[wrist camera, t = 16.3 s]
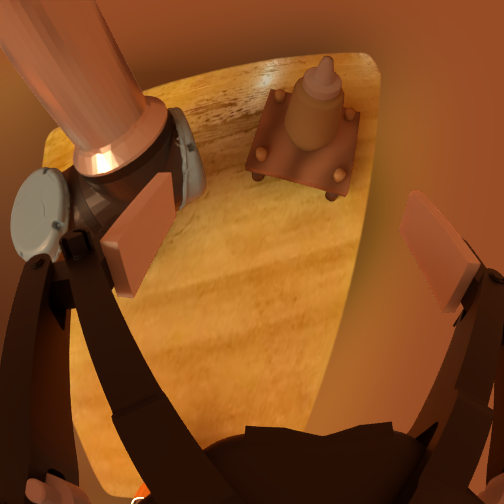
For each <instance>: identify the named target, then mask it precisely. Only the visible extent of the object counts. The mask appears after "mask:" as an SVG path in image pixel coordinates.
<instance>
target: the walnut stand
mask: <svg viewBox="0 0 504 504" xmlns="http://www.w3.org/2000/svg"><path fill="white" fill-rule="evenodd" d="M291 96H292V93H287V92H285V91H284V90H282V89H278V90H273V89H271V90H270V93H269V96H268V99H267V102H266V105H265V108H264V111H263V114H262V117H261V120H260V122H259V125H258V128H257V131H256V134H255V138H254V141H253V144H252V147H251V150H250V153H249V156H248V159H247V162H246V165H245V169H246V170H247V171H252V178H253V180H255V181H261V180H263V178H264V175H268V176H272V177H276V178H280V179H284V180H287V181H291V182H295V183H299V184H302V185H306V186H310V187H313V188H317V189H320V190H324V191H327V192H326V194H325V196H326V199H327V200H329V201H334V200H335V199H336V198H337V197H338V195H341V196H344V197H345V196H346V195H347V194H348V189H349V183H350V178H351V172H352V166H353V160H354V154H355V147H356V141H357V134H358V126H359V119H360V112H356V111H355V110H354V109H353V108H344V107H343V108H342V112H341V117H340V121H339V126H338V130H337V134H336V136H335V137H334V139H333V141H331V142H330V143H328V144H327V145H325V146H323V147H322V148H320V149H318V150H316V151H304V150H301V149H299V148H298V147H296V146H295V145H294V144H293V143H292V141H291V139H290V137H289V136H288V134H287V131H286V128H285V126H284V121H285V115H286V112H287V109H288V106H289V102H290V99H291Z"/></svg>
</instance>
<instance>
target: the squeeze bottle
mask: <svg viewBox="0 0 504 504" xmlns="http://www.w3.org/2000/svg"><path fill="white" fill-rule="evenodd" d="M341 86H342V84H341V79H340V77H339V75H337V74H336V73H335V72H334V64H333V58H332V57H330V56H324V57H323V59H322V60H321V62H320V64H319V65H318V67H312V68H310V69H308V70H307V71H306V72H305V74H304V77H302V78H300V79H299V80H298V81H297V83H296V84H295V86H294V90H293V93H292V96H291V99H290V102H289V106H288V109H287V112H286V115H285V121H284V126H285V128H286V131H287V134H288V136H289V137H290V139H291V141H292V143H293V144H294V145H295V146H296V147H298V148H299V149H301V150H304V151H316V150H318V149H320V148H322V147H323V146H325V145H327V144H328V143H330V142H331V141H333V139H334V137H335V136H336V134H337V130H338V126H339V121H340V117H341V112H342V108H343V103H344V92H343V90H342V88H341Z"/></svg>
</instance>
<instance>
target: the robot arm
mask: <svg viewBox="0 0 504 504" xmlns="http://www.w3.org/2000/svg"><path fill="white" fill-rule="evenodd" d="M0 47H1V49H2V50H3V51H4V53H5V54H6V56H7V57H8V59H9V60H10V62H11V63H12V64H13V66H14V67H15V69H16V70H17V71H18V73H19V74H20V76H21V77H22V78H23V80H24V81H25V82H26V84H27V85H28V87H29V88H30V89H31V91H32V92H33V93H34V95H35V96H36V97H37V98H38V100H39V101H40V102H41V104H42V105H43V106H44V108H45V109H46V110H47V111H48V113H49V114H50V115H51V117H52V118H53V119H54V120H55V121H56V123H57V124H58V125H59V127H60V128H61V129H62V130H63V132H64V133H65V134H66V135H67V136H68V138H69V139H70V140H71V141H72V143H73V144H74V145H75V149H74V154H73V164H74V165H72V166H71V167H69V168H68V169H66V170H65V171H63V172H61V171H60V170H58V169H57V168H48V167H44V168H41V169H38V170H36V171H34V172H33V173H32V174H31V175H30V176H29V177H28V178H27V179H26V180H25V182H24V183H23V184H22V186H21V188H20V189H19V191H18V194H17V196H16V198H15V202H14V206H13V209H12V214H11V236H12V240H13V244H14V247H15V249H16V251H17V252H18V254H19V255H20V256H21V257H22V258H23V259H24V260H25V261H27V262H26V264H25V265H24V268H23V271H22V274H21V278H20V281H19V284H18V287H17V291H16V294H15V298H14V302H13V305H12V309H11V313H10V317H9V322H8V326H7V331H6V336H5V341H4V346H3V353H2V358H1V364H0V504H91V503H90V501H89V498H88V496H87V495H86V493H85V492H84V491H83V490H82V489H81V488H79V471H78V462H77V455H76V448H75V441H74V432H73V423H72V412H71V398H70V374H69V343H70V319H71V309H73V308H76V310H77V313H78V317H79V321H80V324H81V327H82V331H83V334H84V337H85V341H86V344H87V347H88V350H89V353H90V356H91V359H92V361H93V364H94V367H95V370H96V373H97V375H98V378H99V380H100V383H101V386H102V388H103V391H104V393H105V395H106V398H107V400H108V403H109V405H110V407H111V410H112V413H113V415H112V416H111V417H112V421H113V423H114V426H115V428H116V430H117V432H118V435H119V437H120V439H121V441H122V443H123V445H124V447H125V449H126V451H127V452H128V454H129V456H130V458H131V460H132V462H133V464H134V465H135V467H136V469H137V471H138V473H139V474H140V476H141V478H142V479H143V481H144V483H145V485H146V486H147V488H148V489H149V491H150V494H149V495H148V496H146V497H145V498H144V499H142V500H141V501H140V502H138V503H137V504H504V277H503V276H502V275H501V274H500V273H499V272H497V271H496V270H494V269H490V268H486V267H485V266H484V264H483V263H482V261H481V260H480V259H479V257H478V256H477V255H476V254H475V252H474V251H473V249H471V247H470V246H469V244H468V243H467V242H466V241H465V240H464V239H463V238H461V236H460V235H459V234H458V233H457V231H456V230H455V229H454V228H453V227H452V225H451V224H450V223H449V222H448V221H447V219H446V218H445V217H444V216H443V215H442V214H441V212H440V211H439V210H438V209H437V208H436V207H435V206H434V204H433V203H432V202H431V201H430V200H429V199H428V198H427V197H426V196H425V195H424V194H423V192H422V191H415V190H410V194H409V198H408V202H407V205H406V209H405V212H404V216H403V219H402V222H401V226H400V230H399V233H400V234H401V236H402V238H403V239H404V241H405V243H406V244H407V246H408V248H409V249H410V251H411V253H412V255H413V257H414V258H415V260H416V262H417V264H418V266H419V268H420V270H421V271H422V273H423V275H424V277H425V279H426V281H427V283H428V285H429V287H430V289H431V291H432V293H433V295H434V297H435V299H436V301H437V303H438V305H439V307H440V309H441V311H442V313H449V312H455V311H456V309H457V307H458V306H459V304H460V302H461V304H462V305H463V307H464V309H463V310H462V312H461V314H460V315H459V317H458V319H457V320H456V322H455V323H454V325H453V326H454V327H455V326H456V328H455V331H454V334H453V337H452V340H451V343H450V345H449V348H448V351H447V353H446V356H445V358H444V361H443V363H442V366H441V368H440V371H439V373H438V375H437V378H436V380H435V382H434V385H433V387H432V389H431V391H430V393H429V395H428V397H427V400H426V401H425V403H424V405H423V407H422V410H421V412H420V413H419V415H418V417H417V419H416V421H415V423H414V425H413V426H412V428H411V429H410V431H409V432H408V433H407V434H404V433H402V432H398V431H394V430H393V427H392V422H385V423H377V424H367V425H359V426H356V427H353V428H349V429H346V430H343V431H340V432H337V433H334V434H330V435H327V436H318V435H314V434H309V433H305V432H300V431H296V430H292V429H288V428H280V427H256V426H246V427H245V434H240V435H235V436H231V437H228V438H225V439H222V440H220V441H217V442H215V443H214V444H212V445H210V446H208V447H207V448H205V449H204V450H202V449H201V447H200V446H199V445H198V443H197V442H196V440H195V439H194V437H193V436H192V435H191V433H190V432H189V430H188V429H187V427H186V426H185V424H184V423H183V421H182V420H181V418H180V417H179V415H178V413H177V412H176V410H175V409H174V407H173V406H172V404H171V402H170V401H169V399H168V398H167V396H166V395H165V393H164V392H163V391H162V390H161V388H160V386H159V385H158V383H157V381H156V379H155V378H154V376H153V374H152V372H151V370H150V369H149V367H148V365H147V363H146V361H145V359H144V358H143V356H142V354H141V352H140V350H139V348H138V346H137V344H136V342H135V340H134V338H133V336H132V334H131V332H130V330H129V328H128V326H127V324H126V322H125V320H124V317H123V315H122V313H121V311H120V309H119V307H118V304H117V302H116V300H115V298H114V295H113V293H112V291H111V290H112V289H113V287H115V290H116V293H117V296H118V297H126V298H134V297H135V295H136V293H137V291H138V289H139V287H140V285H141V283H142V281H143V279H144V277H145V275H146V273H147V271H148V269H149V267H150V265H151V263H152V261H153V259H154V257H155V255H156V253H157V251H158V249H159V247H160V246H161V244H162V242H163V240H164V238H165V236H166V234H167V233H168V231H169V229H170V227H171V225H172V224H173V222H174V220H175V218H176V213H175V211H177V210H181V209H183V208H184V206H185V205H187V204H189V203H190V202H192V201H194V200H196V199H197V198H199V197H200V196H202V195H203V193H204V192H205V189H206V176H205V172H204V168H203V164H202V161H201V157H200V154H199V151H198V149H197V147H196V146H195V144H196V143H195V141H194V137H193V134H192V131H191V129H190V126H189V124H188V121H187V119H186V117H185V115H184V113H183V111H182V110H181V109H180V108H178V107H175V108H168V109H167V108H166V106H165V104H164V103H163V102H162V101H161V100H160V99H159V98H156V97H152V96H144V95H143V93H142V91H141V89H140V87H139V85H138V83H137V81H136V80H135V78H134V76H133V74H132V72H131V70H130V68H129V66H128V64H127V63H126V60H125V58H124V56H123V54H122V52H121V50H120V49H119V47H118V45H117V43H116V41H115V39H114V37H113V35H112V33H111V31H110V29H109V27H108V25H107V23H106V21H105V19H104V17H103V15H102V13H101V11H100V9H99V7H98V5H97V3H96V1H95V0H0ZM493 383H494V409H493V410H492V409H490V408H489V407H488V402H489V399H490V394H491V391H492V387H493ZM492 421H493V423H492ZM491 424H492V433H491V442H490V449H489V456H488V464H487V476H486V488H485V490H484V491H482V492H481V493H479V495H478V496H476V495H475V494H474V493H473V492H472V491H471V490H470V489H469V488H468V486H469V484H470V481H471V479H472V477H473V474H474V472H475V469H476V467H477V465H478V462H479V459H480V457H481V454H482V451H483V449H484V446H485V443H486V440H487V437H488V434H489V431H490V427H491Z"/></svg>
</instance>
